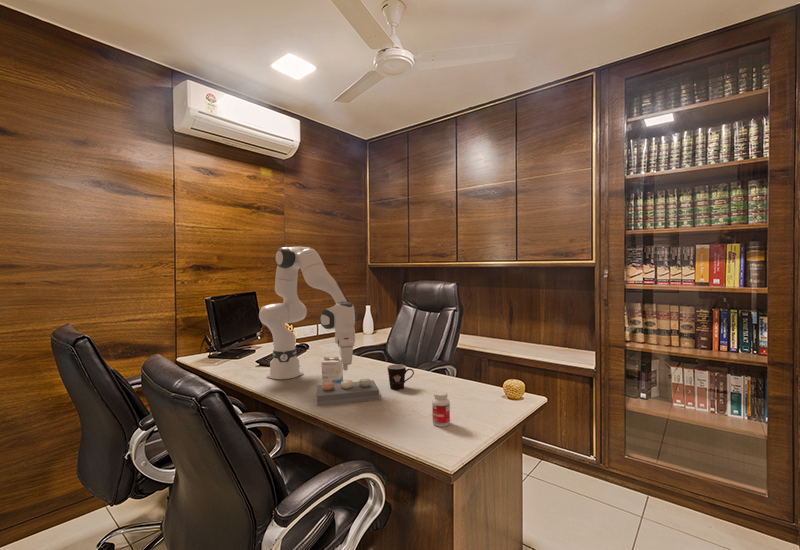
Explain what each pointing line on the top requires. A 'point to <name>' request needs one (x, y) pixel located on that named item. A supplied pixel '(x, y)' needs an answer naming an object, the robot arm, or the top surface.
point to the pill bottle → (441, 409)
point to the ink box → (332, 370)
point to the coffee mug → (397, 376)
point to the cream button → (347, 384)
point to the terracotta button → (328, 386)
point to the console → (347, 394)
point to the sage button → (364, 382)
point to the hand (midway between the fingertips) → (345, 369)
